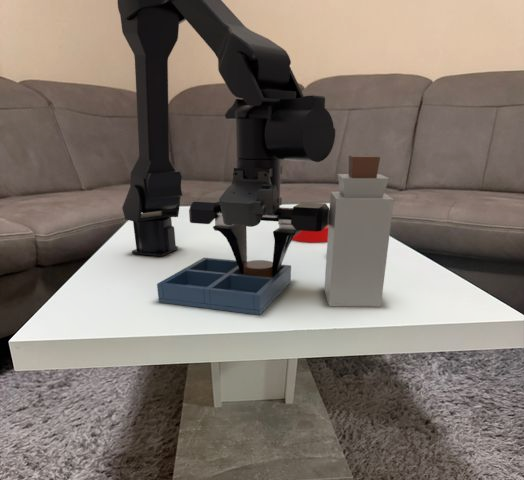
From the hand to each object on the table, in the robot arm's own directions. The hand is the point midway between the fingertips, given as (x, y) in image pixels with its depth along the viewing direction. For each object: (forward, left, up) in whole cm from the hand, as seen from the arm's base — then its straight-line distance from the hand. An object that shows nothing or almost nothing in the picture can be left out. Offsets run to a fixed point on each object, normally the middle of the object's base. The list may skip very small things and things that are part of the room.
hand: (258, 274), depth 66 cm
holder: (-3, -3, -2) cm, 5 cm away
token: (0, 0, -1) cm, 1 cm away
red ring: (0, +36, -2) cm, 36 cm away
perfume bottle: (+14, 0, -2) cm, 14 cm away
